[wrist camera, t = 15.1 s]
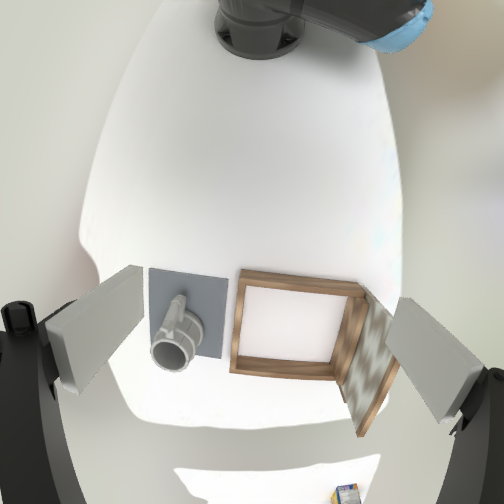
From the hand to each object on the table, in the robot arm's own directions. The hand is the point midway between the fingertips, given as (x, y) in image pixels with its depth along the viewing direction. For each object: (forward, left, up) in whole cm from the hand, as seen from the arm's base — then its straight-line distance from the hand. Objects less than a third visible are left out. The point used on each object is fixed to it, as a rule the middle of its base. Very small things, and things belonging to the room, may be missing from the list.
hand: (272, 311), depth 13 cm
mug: (+18, -12, -31) cm, 38 cm away
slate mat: (+18, -12, -32) cm, 38 cm away
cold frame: (+17, +7, -32) cm, 37 cm away
